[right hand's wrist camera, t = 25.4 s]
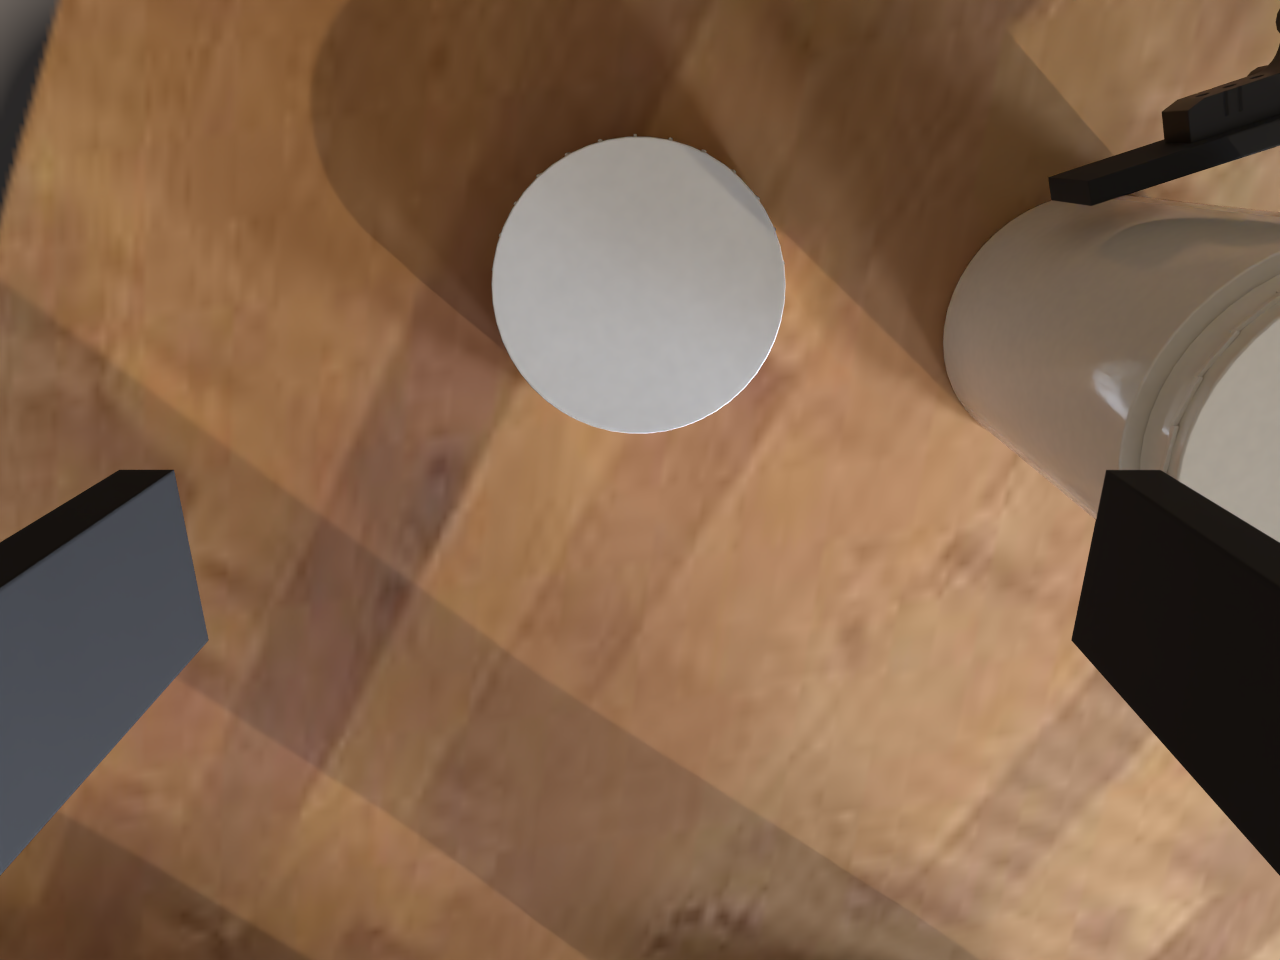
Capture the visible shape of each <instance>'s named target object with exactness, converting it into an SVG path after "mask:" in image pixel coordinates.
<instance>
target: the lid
mask: <svg viewBox="0 0 1280 960" xmlns="http://www.w3.org/2000/svg"><path fill="white" fill-rule="evenodd" d="M672 139H673V138H668V139H662V138H655V137H637V134H634V137H622V138H615V139H608V140H605V141H602V139H599V140H598V143H594V144H591V145H588V146H585V147H583V148H581V149H579V150H576V151H574V152H572V153H570V152H569V153H566V154H565V157H563V158H562V159H560V160H559V161H557V162H555V163H554V164H552V165H551V166H550V167H549V168H548V169H546V170H545V171H544V172H543V173H540V174H537V175H536V177H537V178H536V179H535V180H534V181H533V182H532V183H531V185H530V186H529V187H528V188H527V189H526V190H525V191H524V192H523V194H522V195H521V197H520V198H519V200H518V201H516V202H515V203H514V207H513V208H512V210H511V212H510V214H509V216H508V218H507V220H506V222H505V224H504V226H503V229H502V232H501V233H500V234H499V237H500V238H499V240H498V243H497V247H496V252H495V257H494V262H493V268H492V300H493V308H494V313H495V318H496V323H497V326H498V329H499V332H500V335H501V338H502V341H503V343H504V345H505V347H506V350H507V352H508V354H509V356H510V358H511V359H512V361H513V363H514V364H515V366H516V367H517V369H518V370H519V372H520V374H521V375H522V376H523V377H524V378H525V380H526V381H527V382H528V383H529V384H530V385H531V387H532V388H533V389H534V390H535V391H536V392H537V393H539V394H540V395H541V396H542V397H543V398H544V399H545V400H546V401H547V402H549V403H550V404H552V405H553V406H554V407H556V408H557V409H559V410H560V411H562V412H563V413H565V414H567V415H569V416H571V417H573V418H574V419H576V420H578V421H581V422H584V423H586V424H589V425H591V426H594V427H598V428H601V429H605V430H609V431H615V432H623V433H654V432H662V431H668V430H672V429H676V428H680V427H683V426H686V425H688V424H691V423H694V422H696V421H699V420H701V419H703V418H705V417H706V416H708V415H710V414H712V413H714V412H716V411H717V410H718V409H720V408H721V407H723V406H724V405H725V404H727V403H728V402H730V401H731V400H732V399H733V398H734V397H735V396H736V395H737V394H739V393H740V392H741V391H742V390H743V389H744V388H745V387H746V386H747V384H748V383H749V382H750V381H751V380H752V378H753V377H754V376H755V375H756V374H757V372H758V370H759V369H760V367H761V366H762V364H763V363H764V361H765V360H766V358H767V356H768V354H769V352H770V350H771V348H772V345H773V343H774V341H775V338H776V335H777V332H778V329H779V326H780V323H781V318H782V313H783V308H784V300H785V271H784V261H783V257H782V252H781V247H780V244H779V241H778V238H777V235H776V232H775V231H776V228H775V227H774V226H773V224H772V222H771V220H770V218H769V216H768V214H767V212H766V210H765V209H764V207H763V206H762V204H761V203H760V201H759V199H760V198H759V197H758V196H756V195H755V194H754V192H753V191H752V190H751V189H750V188H749V187H748V186H747V185H746V184H745V182H744V181H743V180H742V179H741V178H740V177H739V176H738V175H736V174H735V173H736V171H735V170H733V169H729V168H728V167H727V166H726V165H725V164H723V163H721V162H720V161H718V160H717V159H715V158H713V157H712V156H710V155H709V154H707V153H706V150H703V149H701V151H700V150H698V149H696V148H694V147H691V146H689V145H686V144H683V143H679V142H676V141H672Z"/></svg>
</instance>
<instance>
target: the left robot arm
mask: <svg viewBox="0 0 1280 960" xmlns="http://www.w3.org/2000/svg"><path fill="white" fill-rule="evenodd" d="M1276 26H1277V30H1278V31H1279V33H1280V10H1279V11H1278V13H1277V18H1276ZM1162 119H1163V130H1164V140H1161V141H1158V142H1155V143H1152V144H1149V145H1146V146H1143V147H1140V148H1137V149H1134V150H1131V151H1128V152H1125V153H1122V154H1118V155H1115V156H1112V157H1109V158H1106V159H1103V160H1100V161H1097V162H1094V163H1091V164H1088V165H1085V166H1082V167H1079V168H1076V169H1073V170H1070V171H1067V172H1064V173H1060V174H1057V175H1054V176H1051V177H1048V179H1049V186H1050V192H1051V199H1052V200H1053V201H1060V202H1067V203H1074V204H1081V205H1088V206H1093V205H1096V204H1099V203H1102V202H1106V201H1109V200H1112V199H1115V198H1118V197H1121V196H1124V195H1127V194H1130V193H1134V192H1137V191H1140V190H1143V189H1146V188H1149V187H1152V186H1155V185H1158V184H1161V183H1165V182H1168V181H1171V180H1174V179H1177V178H1180V177H1183V176H1186V175H1189V174H1192V173H1196V172H1199V171H1202V170H1205V169H1208V168H1211V167H1214V166H1217V165H1220V164H1224V163H1227V162H1230V161H1233V160H1236V159H1239V158H1242V157H1245V156H1248V155H1251V154H1255V153H1258V152H1261V151H1264V150H1267V149H1270V148H1273V147H1276V146H1279V145H1280V45H1279V48H1278V51H1277V54H1276V56H1275V57H1274V59H1273V61H1272V62H1271V63H1270V64H1269V65H1267V66H1262V67H1258V68H1256V69H1255V70H1253V71H1252V72H1250V74H1249V75H1248V76H1247V77H1245V78H1242V79H1239V80H1236V81H1233V82H1230V83H1227V84H1224V85H1221V86H1218V87H1215V88H1212V89H1209V90H1206V91H1203V92H1200V93H1197V94H1194V95H1191V96H1188V97H1185V98H1182V99H1179V100H1177V101H1175V102H1174V103H1173V104H1171V105H1170V106H1169V107H1168V108H1166V109H1165V110H1164V111H1162Z"/></svg>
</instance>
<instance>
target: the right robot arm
mask: <svg viewBox="0 0 1280 960" xmlns="http://www.w3.org/2000/svg"><path fill="white" fill-rule="evenodd" d="M207 641H208V635H207V630H206V625H205V621H204V616H203V611H202V606H201V601H200V596H199V591H198V586H197V581H196V576H195V571H194V566H193V562H192V557H191V552H190V547H189V542H188V537H187V532H186V527H185V522H184V517H183V512H182V507H181V502H180V498H179V493H178V488H177V483H176V478H175V473H174V470H119V471H117V472H115V473H114V474H112V475H110V476H109V477H107V478H105V479H104V480H102V481H101V482H99V483H97V484H96V485H94V486H92V487H91V488H89V489H87V490H86V491H84V492H82V493H81V494H79V495H78V496H76V497H74V498H73V499H71V500H69V501H68V502H66V503H64V504H63V505H61V506H59V507H58V508H56V509H55V510H53V511H51V512H50V513H48V514H46V515H45V516H43V517H41V518H40V519H38V520H37V521H35V522H33V523H32V524H30V525H28V526H27V527H25V528H23V529H22V530H20V531H18V532H17V533H15V534H14V535H12V536H10V537H9V538H7V539H5V540H4V541H2V542H0V875H1V874H2V873H3V872H4V871H5V870H6V868H7V867H8V866H9V865H10V864H11V863H12V862H13V860H14V859H15V858H16V857H17V856H18V855H19V854H20V853H21V851H22V850H23V849H24V848H25V847H26V846H27V845H28V844H29V842H30V841H31V840H32V839H33V838H34V837H35V836H36V835H37V833H38V832H39V831H40V830H41V829H42V828H43V827H44V825H45V824H46V823H47V822H48V821H49V820H50V819H51V818H52V816H53V815H54V814H55V813H56V812H57V811H58V810H59V809H60V807H61V806H62V805H63V804H64V803H65V802H66V801H67V799H68V798H69V797H70V796H71V795H72V794H73V793H74V792H75V790H76V789H77V788H78V787H79V786H80V785H81V784H82V783H83V781H84V780H85V779H86V778H87V777H88V776H89V775H90V774H91V772H92V771H93V770H94V769H95V768H96V767H97V766H98V764H99V763H100V762H101V761H102V760H103V759H104V758H105V757H106V755H107V754H108V753H109V752H110V751H111V750H112V749H113V748H114V746H115V745H116V744H117V743H118V742H119V741H120V740H121V738H122V737H123V736H124V735H125V734H126V733H127V732H128V731H129V729H130V728H131V727H132V726H133V725H134V724H135V723H136V722H137V720H138V719H139V718H140V717H141V716H142V715H143V714H144V713H145V711H146V710H147V709H148V708H149V707H150V706H151V705H152V703H153V702H154V701H155V700H156V699H157V698H158V697H159V696H160V694H161V693H162V692H163V691H164V690H165V689H166V688H167V687H168V685H169V684H170V683H171V682H172V681H173V680H174V679H175V677H176V676H177V675H178V674H179V673H180V672H181V671H182V670H183V668H184V667H185V666H186V665H187V664H188V663H189V662H190V661H191V659H192V658H193V657H194V656H195V655H196V654H197V653H198V652H199V650H200V649H201V648H202V647H203V646H204V645H205V644H206V642H207ZM1072 641H1073V642H1074V644H1075V645H1076V646H1077V647H1078V648H1079V649H1080V650H1081V652H1082V653H1083V654H1084V655H1085V656H1086V657H1087V658H1088V659H1089V661H1090V662H1091V663H1092V664H1093V665H1094V666H1095V667H1096V668H1097V670H1098V671H1099V672H1100V673H1101V674H1102V675H1103V676H1104V677H1105V679H1106V680H1107V681H1108V682H1109V683H1110V684H1111V685H1112V687H1113V688H1114V689H1115V690H1116V691H1117V692H1118V693H1119V694H1120V696H1121V697H1122V698H1123V699H1124V700H1125V701H1126V702H1127V703H1128V705H1129V706H1130V707H1131V708H1132V709H1133V710H1134V711H1135V713H1136V714H1137V715H1138V716H1139V717H1140V718H1141V719H1142V720H1143V722H1144V723H1145V724H1146V725H1147V726H1148V727H1149V728H1150V729H1151V731H1152V732H1153V733H1154V734H1155V735H1156V736H1157V737H1158V738H1159V740H1160V741H1161V742H1162V743H1163V744H1164V745H1165V746H1166V748H1167V749H1168V750H1169V751H1170V752H1171V753H1172V754H1173V755H1174V757H1175V758H1176V759H1177V760H1178V761H1179V762H1180V763H1181V764H1182V766H1183V767H1184V768H1185V769H1186V770H1187V771H1188V772H1189V774H1190V775H1191V776H1192V777H1193V778H1194V779H1195V780H1196V781H1197V783H1198V784H1199V785H1200V786H1201V787H1202V788H1203V789H1204V790H1205V792H1206V793H1207V794H1208V795H1209V796H1210V797H1211V798H1212V799H1213V801H1214V802H1215V803H1216V804H1217V805H1218V806H1219V807H1220V809H1221V810H1222V811H1223V812H1224V813H1225V814H1226V815H1227V816H1228V818H1229V819H1230V820H1231V821H1232V822H1233V823H1234V824H1235V825H1236V827H1237V828H1238V829H1239V830H1240V831H1241V832H1242V833H1243V835H1244V836H1245V837H1246V838H1247V839H1248V840H1249V841H1250V842H1251V844H1252V845H1253V846H1254V847H1255V848H1256V849H1257V850H1258V851H1259V853H1260V854H1261V855H1262V856H1263V857H1264V858H1265V859H1266V860H1267V862H1268V863H1269V864H1270V865H1271V866H1272V867H1273V868H1274V870H1275V871H1276V872H1277V873H1278V874H1279V875H1280V542H1278V541H1276V540H1275V539H1273V538H1271V537H1270V536H1268V535H1266V534H1265V533H1263V532H1262V531H1260V530H1258V529H1257V528H1255V527H1253V526H1252V525H1250V524H1248V523H1247V522H1245V521H1243V520H1242V519H1240V518H1239V517H1237V516H1235V515H1234V514H1232V513H1230V512H1229V511H1227V510H1225V509H1224V508H1222V507H1221V506H1219V505H1217V504H1216V503H1214V502H1212V501H1211V500H1209V499H1207V498H1206V497H1204V496H1202V495H1201V494H1199V493H1198V492H1196V491H1194V490H1193V489H1191V488H1189V487H1188V486H1186V485H1184V484H1183V483H1181V482H1179V481H1178V480H1176V479H1175V478H1173V477H1171V476H1170V475H1168V474H1166V473H1165V472H1163V471H1161V470H1106V473H1105V478H1104V483H1103V488H1102V493H1101V498H1100V502H1099V507H1098V512H1097V517H1096V522H1095V527H1094V532H1093V537H1092V542H1091V547H1090V552H1089V557H1088V562H1087V566H1086V571H1085V576H1084V581H1083V586H1082V591H1081V596H1080V601H1079V606H1078V611H1077V616H1076V621H1075V625H1074V630H1073V635H1072Z"/></svg>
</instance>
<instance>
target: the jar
mask: <svg viewBox="0 0 1280 960" xmlns="http://www.w3.org/2000/svg"><path fill="white" fill-rule="evenodd" d="M943 349H944V361H945V365H946V370H947V375H948V377H949V380H950V383H951V385H952V388H953V390H954V392H955V394H956V396H957V397H958V399H959V401H960V403H961V404H962V405H963V406H964V408H965V409H966V410H967V412H968V413H969V414H970V415H971V416H972V417H973V418H974V419H975V420H976V421H977V422H978V423H979V424H980V425H982V426H983V427H984V428H985V429H987V430H988V431H989V432H990V433H991V434H993V435H994V436H995V437H996V438H997V439H999V440H1000V441H1001V442H1002V443H1003V444H1005V445H1006V446H1007V447H1008V448H1009V449H1011V450H1012V451H1013V452H1014V453H1016V454H1017V455H1018V456H1019V457H1020V458H1022V459H1023V460H1024V461H1025V462H1026V463H1028V464H1029V465H1030V466H1031V467H1032V468H1034V469H1035V470H1036V471H1037V472H1038V473H1040V474H1041V475H1042V476H1043V477H1045V478H1046V479H1047V480H1048V481H1049V482H1051V483H1052V484H1053V485H1054V486H1055V487H1057V488H1058V489H1059V490H1060V491H1061V492H1063V493H1064V494H1065V495H1066V496H1067V497H1069V498H1070V499H1071V500H1072V501H1074V502H1075V503H1076V504H1077V505H1078V506H1080V507H1081V508H1082V509H1083V510H1084V511H1086V512H1087V513H1088V514H1089V515H1090V516H1092V517H1093V518H1094V519H1095V520H1096V517H1097V512H1098V507H1099V502H1100V498H1101V493H1102V488H1103V483H1104V478H1105V473H1106V470H1161V471H1163V472H1165V473H1166V474H1168V475H1170V476H1171V477H1173V478H1175V479H1176V480H1178V481H1179V482H1181V483H1183V484H1184V485H1186V486H1188V487H1189V488H1191V489H1193V490H1194V491H1196V492H1198V493H1199V494H1201V495H1202V496H1204V497H1206V498H1207V499H1209V500H1211V501H1212V502H1214V503H1216V504H1217V505H1219V506H1221V507H1222V508H1224V509H1225V510H1227V511H1229V512H1230V513H1232V514H1234V515H1235V516H1237V517H1239V518H1240V519H1242V520H1243V521H1245V522H1247V523H1248V524H1250V525H1252V526H1253V527H1255V528H1257V529H1258V530H1260V531H1262V532H1263V533H1265V534H1266V535H1268V536H1270V537H1271V538H1273V539H1275V540H1276V541H1278V542H1280V212H1273V211H1264V210H1255V209H1246V208H1236V207H1227V206H1218V205H1209V204H1200V203H1191V202H1182V201H1173V200H1164V199H1155V198H1145V197H1136V196H1127V195H1124V196H1121V197H1118V198H1115V199H1112V200H1109V201H1106V202H1102V203H1099V204H1096V205H1093V206H1088V205H1081V204H1074V203H1067V202H1060V201H1053V200H1052V201H1049V202H1046V203H1043V204H1041V205H1039V206H1037V207H1035V208H1032V209H1030V210H1028V211H1026V212H1025V213H1023V214H1021V215H1020V216H1018V217H1017V218H1015V219H1013V220H1012V221H1010V222H1009V223H1008V224H1006V225H1005V226H1004V227H1003V228H1001V229H1000V230H999V231H998V232H996V233H995V234H994V235H993V236H992V237H991V238H990V239H989V240H988V241H987V242H986V243H985V244H984V245H983V246H982V247H981V249H980V250H979V251H978V252H977V254H976V255H975V256H974V257H973V259H972V260H971V261H970V263H969V264H968V266H967V268H966V269H965V271H964V272H963V274H962V276H961V277H960V279H959V282H958V284H957V286H956V288H955V290H954V292H953V295H952V298H951V301H950V304H949V307H948V310H947V315H946V320H945V325H944V337H943Z"/></svg>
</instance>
